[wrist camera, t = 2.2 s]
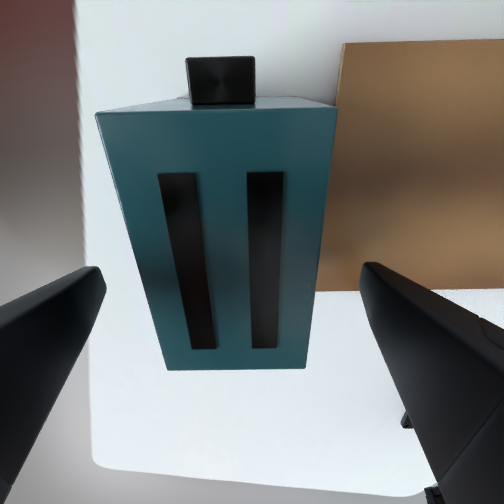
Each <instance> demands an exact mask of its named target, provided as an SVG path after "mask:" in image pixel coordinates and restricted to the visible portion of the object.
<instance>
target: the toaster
mask: <svg viewBox="0 0 504 504" xmlns="http://www.w3.org/2000/svg"><path fill="white" fill-rule="evenodd" d="M185 63H186V72H187V80H188V88H189V97H190V99H171V100H165V101H159V102H154V103H148V104H142V105H136V106H130V107H124V108H118V109H113V110H107V111H101V112H97V113H95V119H96V122H97V126H98V129H99V133H100V136H101V140H102V143H103V147H104V150H105V154H106V157H107V161H108V164H109V168H110V171H111V175H112V178H113V182H114V185H115V189H116V192H117V196H118V199H119V203H120V206H121V210H122V213H123V217H124V220H125V224H126V227H127V231H128V234H129V238H130V241H131V245H132V248H133V252H134V255H135V259H136V262H137V266H138V269H139V273H140V276H141V280H142V283H143V287H144V291H145V294H146V298H147V301H148V305H149V308H150V312H151V315H152V319H153V322H154V326H155V329H156V333H157V336H158V340H159V343H160V347H161V350H162V354H163V357H164V361H165V364H166V368H167V370H168V371H181V370H256V369H305V368H306V361H307V353H308V345H309V337H310V330H311V322H312V314H313V306H314V298H315V290H316V282H317V274H318V266H319V259H320V251H321V243H322V235H323V227H324V219H325V211H326V203H327V196H328V188H329V180H330V172H331V164H332V156H333V148H334V140H335V132H336V125H337V117H338V108H337V107H335V106H331V105H327V104H323V103H319V102H315V101H311V100H307V99H303V98H299V97H295V96H278V97H256V87H255V57H254V56H227V57H188V58H186V60H185Z"/></svg>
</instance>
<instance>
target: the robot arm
mask: <svg viewBox="0 0 504 504" xmlns="http://www.w3.org/2000/svg"><path fill="white" fill-rule="evenodd" d="M106 289H107V288H106V283H105V281H104V278H103V275H102V273H101V270H100V269H99V267H97V266H86V267H83V268H81V269H79V270H77V271H74V272H72V273H70V274H68V275H66V276H64V277H62V278H60V279H57V280H55V281H53V282H51V283H49V284H47V285H45V286H43V287H40V288H38V289H36V290H34V291H32V292H30V293H28V294H26V295H23V296H21V297H19V298H17V299H15V300H13V301H11V302H9V303H6V304H5V305H2V306H0V504H4V502H5V500H6V498H7V496H8V494H9V492H10V490H11V488H12V485H13V483H14V482H15V480H16V478H17V476H18V474H19V472H20V470H21V468H22V466H23V464H24V462H25V460H26V458H27V456H28V454H29V452H30V451H31V449H32V446H33V445H34V443H35V441H36V439H37V437H38V435H39V432H40V431H41V429H42V427H43V425H44V423H45V421H46V419H47V417H48V415H49V413H50V411H51V409H52V407H53V405H54V403H55V401H56V399H57V397H58V396H59V394H60V392H61V390H62V388H63V386H64V384H65V382H66V380H67V378H68V376H69V374H70V372H71V370H72V368H73V366H74V364H75V362H76V360H77V358H78V356H79V354H80V352H81V350H82V348H83V347H84V345H85V343H86V341H87V339H88V337H89V335H90V332H91V330H92V328H93V326H94V323H95V320H96V318H97V315H98V312H99V310H100V307H101V304H102V302H103V299H104V297H105V294H106ZM359 290H360V293H361V297H362V300H363V304H364V307H365V310H366V314H367V317H368V321H369V324H370V327H371V329H372V332H373V334H374V336H375V339H376V341H377V343H378V346H379V348H380V350H381V353H382V355H383V357H384V360H385V362H386V364H387V367H388V369H389V371H390V374H391V376H392V378H393V381H394V383H395V385H396V388H397V390H398V392H399V395H400V397H401V399H402V402H403V404H404V406H405V409H406V412H405V414H404V416H403V418H402V420H401V425H402V427H403V428H406V429H409V428H414V430H415V432H416V434H417V437H418V439H419V441H420V444H421V446H422V449H423V451H424V453H425V456H426V458H427V460H428V463H429V465H430V467H431V470H432V472H433V474H434V477H435V479H436V481H437V482H438V486H436V487H427V488H424V490H425V493H426V499H427V503H428V504H504V329H502V328H500V327H499V326H497V325H495V324H493V323H491V322H489V321H487V320H485V319H484V318H479V316H478V315H476V314H474V313H472V312H470V311H468V310H467V309H465V308H463V307H461V306H459V305H457V304H455V303H453V302H452V301H450V300H448V299H446V298H444V297H442V296H440V295H438V294H436V293H435V292H433V291H431V290H429V289H427V288H425V287H423V286H421V285H420V284H418V283H416V282H414V281H412V280H410V279H408V278H406V277H405V276H403V275H401V274H399V273H397V272H395V271H393V270H391V269H390V268H388V267H386V266H384V265H382V264H380V263H378V262H365V263H363V265H362V269H361V274H360V278H359Z"/></svg>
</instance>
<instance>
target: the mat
mask: <svg viewBox="0 0 504 504" xmlns="http://www.w3.org/2000/svg"><path fill="white" fill-rule="evenodd" d="M335 107H337V108H338V117H337V125H336V132H335V140H334V148H333V156H332V164H331V172H330V180H329V188H328V196H327V203H326V211H325V219H324V227H323V235H322V243H321V251H320V259H319V266H318V274H317V282H316V290H315V291H360V290H359V278H360V274H361V269H362V265H363V263H365V262H378V263H380V264H382V265H384V266H386V267H388V268H390V269H391V270H393V271H395V272H397V273H399V274H401V275H403V276H405V277H406V278H408V279H410V280H412V281H414V282H416V283H418V284H420V285H421V286H423V287H425V288H427V289H429V290H435V289H497V288H504V39H485V40H445V41H406V42H366V43H344V44H343V45H342V52H341V60H340V69H339V77H338V85H337V94H336V102H335Z"/></svg>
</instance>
